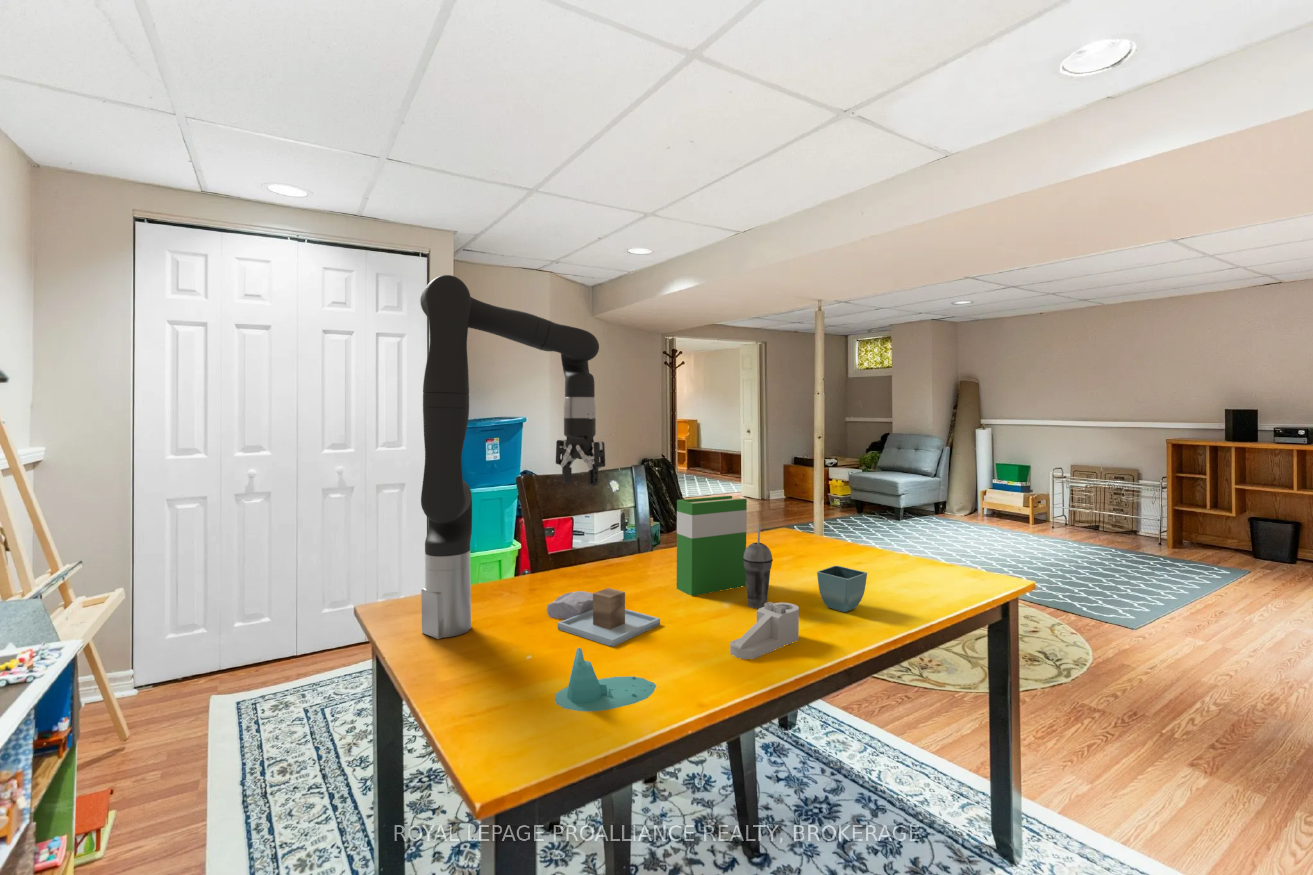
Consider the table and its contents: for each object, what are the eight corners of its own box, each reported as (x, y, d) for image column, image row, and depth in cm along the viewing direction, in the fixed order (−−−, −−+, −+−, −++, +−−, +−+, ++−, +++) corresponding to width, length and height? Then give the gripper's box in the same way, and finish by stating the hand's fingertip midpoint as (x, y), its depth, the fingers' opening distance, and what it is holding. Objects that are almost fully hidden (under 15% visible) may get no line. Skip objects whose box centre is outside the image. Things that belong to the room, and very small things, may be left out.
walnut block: (610, 629, 127) (610, 597, 127) (593, 624, 130) (592, 593, 130) (625, 623, 131) (625, 592, 131) (608, 618, 134) (608, 587, 134)
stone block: (544, 625, 137) (583, 621, 134) (540, 604, 137) (579, 600, 134) (567, 610, 148) (603, 606, 145) (564, 591, 149) (600, 587, 146)
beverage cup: (739, 608, 144) (739, 526, 143) (746, 599, 150) (746, 521, 149) (769, 612, 141) (770, 528, 140) (774, 603, 148) (775, 523, 147)
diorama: (675, 700, 98) (676, 649, 98) (556, 723, 91) (556, 668, 91) (649, 670, 110) (649, 625, 109) (541, 689, 102) (541, 640, 102)
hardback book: (729, 579, 168) (730, 495, 167) (745, 586, 162) (746, 498, 161) (676, 588, 159) (677, 500, 158) (691, 596, 153) (692, 503, 152)
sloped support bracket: (725, 653, 117) (725, 613, 117) (782, 631, 129) (782, 595, 129) (747, 662, 113) (747, 621, 113) (803, 639, 125) (804, 602, 124)
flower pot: (848, 617, 138) (848, 579, 137) (815, 607, 144) (815, 571, 144) (867, 608, 144) (868, 572, 143) (835, 600, 150) (835, 565, 150)
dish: (612, 646, 120) (612, 640, 120) (557, 629, 129) (557, 622, 129) (660, 624, 132) (660, 618, 132) (606, 609, 142) (606, 604, 142)
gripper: (547, 416, 143) (547, 483, 143) (590, 416, 134) (590, 488, 135) (570, 416, 149) (570, 480, 149) (612, 416, 140) (612, 485, 141)
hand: (579, 484), depth 142 cm, fingers open, 8 cm apart
